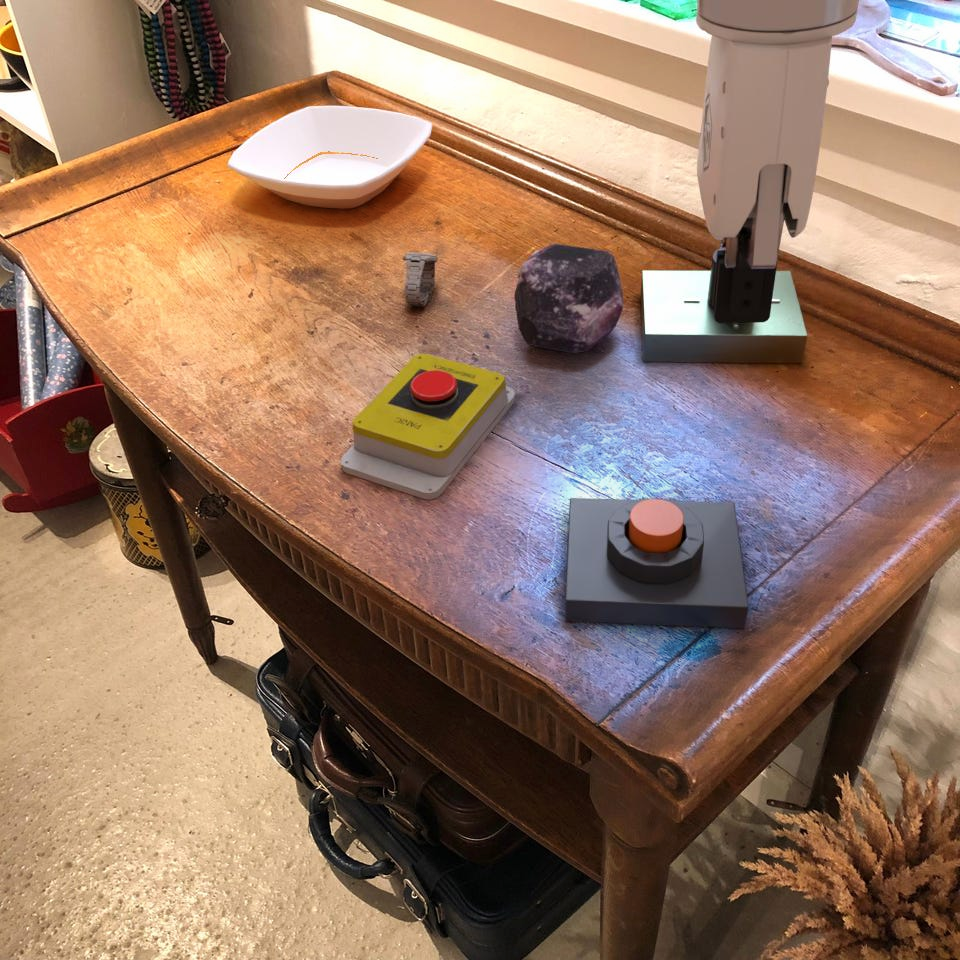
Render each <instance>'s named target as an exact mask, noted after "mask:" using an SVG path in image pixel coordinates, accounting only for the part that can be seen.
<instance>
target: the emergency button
mask: <svg viewBox="0 0 960 960" xmlns="http://www.w3.org/2000/svg"><path fill="white" fill-rule="evenodd" d="M516 398H517V397H516V391H515V389H514V388H513V387H510V386H507V383H506V379H505V376H504V375H503V374H502V373H499V372H497V371H493V370H489V369H485V368H481V367H478V366H474V365H470V364H467V363H462V362H459V361H456V360H452V359H449V358H445V357H441V356H437V355H433V354H429V353H418V354H416V355H414V356H413V357H412V358H411V359H410V360H409V361H408V362H407V363H406V364H405V365H404V366H403V367H402V368H401V369H400V371H398V372H397V374H395V376H393V378H392V379H391V380H390V381H388V383H387V384H386V385H385V386H384V387H383V388H382V389H381V390H380V391H379V392H378V394H376V395H375V396H374V397H373V399H371V401H370V402H368V403H367V405H365V407H364V408H363V409H362V410H361V411H360V412H359V413H357V415H356V416H355V417H354V418H353V420H352V430H353V445H352V446H351V447H349V449H348V450H346V452H345V453H344V454H343V455H342V457H341V459H340V465H341V470H342V471H343V472H345V474H347V475H351V476H354V477H357V478H360V479H363V480H366V481H369V482H372V483H375V484H378V485H380V486H383V487H386V488H390V489H393V490H395V491H398V492H401V493H405V494H408V495H410V496H414V497H416V498H420V499H423V500H434V499H437V498H439V497H441V495H442V494H443V493H444V491H446V489H447V488H448V487H449V486H450V485H451V483H452V482H453V480H454V479H455V478H456V477H457V476H458V474H459V473H460V472H461V470H462V469H463V468H464V467H465V465H466V464H467V463H468V461H470V459H471V458H472V456H474V454H475V453H476V452H477V450H478V449H479V447H481V445H482V444H483V443H484V442H485V440H486V439H487V437H488V436H489V435H490V434H491V433H492V431H493V430H494V429H495V427H496V426H497V425H498V424H499V423H500V421H501V420H502V419H503V417H504V416H505V415H506V413H508V412H509V410H510V408H511V407H512V406H513V405H514V403H515V402H516Z"/></svg>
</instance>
